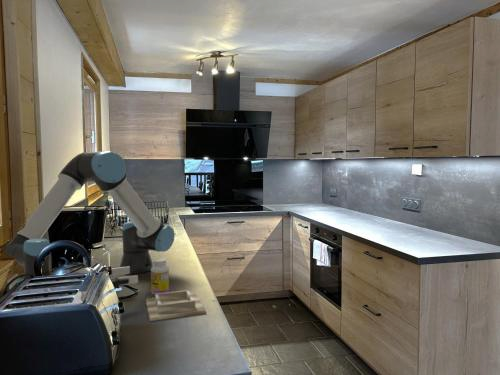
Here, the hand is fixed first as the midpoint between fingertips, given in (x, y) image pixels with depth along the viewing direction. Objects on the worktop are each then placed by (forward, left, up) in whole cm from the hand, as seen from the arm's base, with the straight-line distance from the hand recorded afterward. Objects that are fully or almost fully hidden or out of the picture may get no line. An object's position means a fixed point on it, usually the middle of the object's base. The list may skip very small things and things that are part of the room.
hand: (133, 274), depth 141 cm
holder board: (+15, +13, -9) cm, 22 cm away
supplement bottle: (-2, +10, -9) cm, 13 cm away
